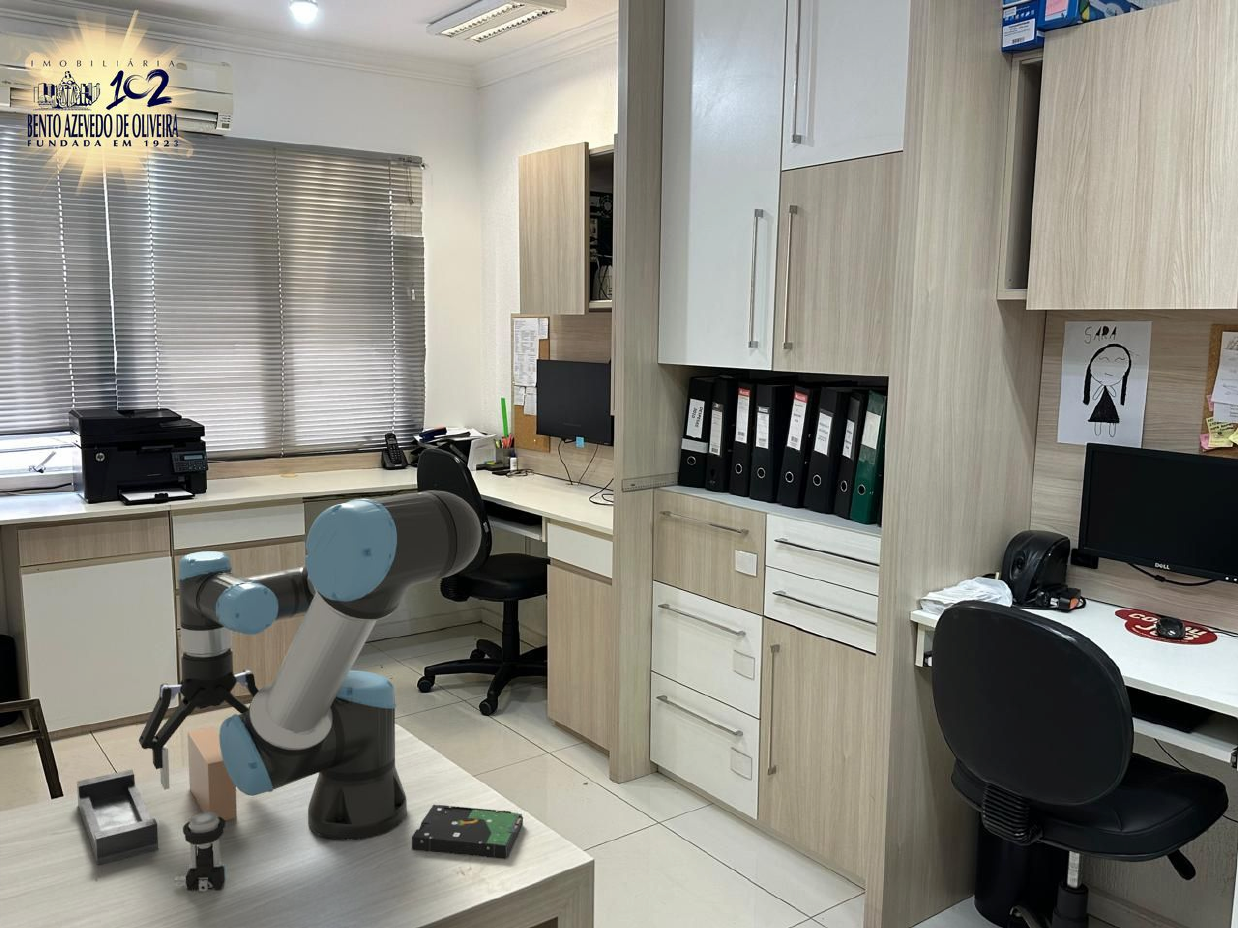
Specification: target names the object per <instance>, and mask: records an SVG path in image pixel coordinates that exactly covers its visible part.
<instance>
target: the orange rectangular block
mask: <svg viewBox="0 0 1238 928" xmlns="http://www.w3.org/2000/svg"><path fill="white" fill-rule="evenodd" d="M187 753H188V756H187V757H188V776H189V790H190V792H191V793H192V796H193V797H194V796H195V797H194V799H195V798H196V799H195V801H196V800H197V801H196V802H197V804H198V806H199V805H200V806H199V808H200V807H201V808H200V810H201V809H202V810H201V811H202V813H205V812H213V813H215V814H217V815H218V817H221V818H223V819H224V820H225V822H226V821H229V820H234V819H237V817H238V815H237V813H238V811H237V787H236V786H235V784H234V783H233V781H232V780H231V778H230V776H229V774H228V772H227V769H226V767H225V764H224V761H223V758H222V753H221V749H220V742H219V734H218V732H217V730H216V729H215V727H214V726H213V727H206V728H202V729H197V730H192V731H188V732H187Z"/></svg>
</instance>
